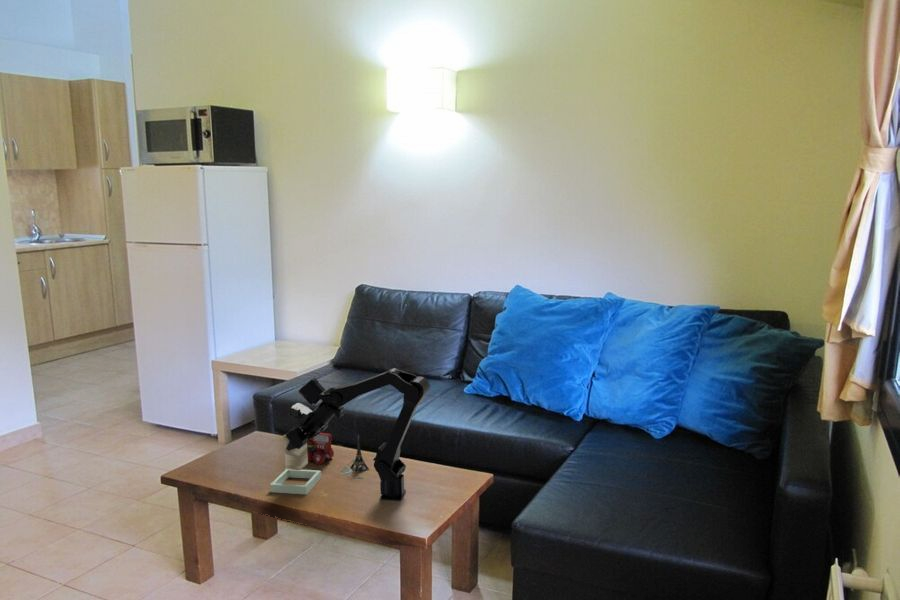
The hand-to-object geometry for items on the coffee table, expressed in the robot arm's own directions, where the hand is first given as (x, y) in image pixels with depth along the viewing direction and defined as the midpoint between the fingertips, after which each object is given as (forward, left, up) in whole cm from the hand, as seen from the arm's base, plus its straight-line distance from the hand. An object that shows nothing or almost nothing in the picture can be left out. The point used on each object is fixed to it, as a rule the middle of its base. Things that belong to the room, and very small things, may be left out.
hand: (291, 446), depth 213 cm
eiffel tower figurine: (-17, -16, -14) cm, 27 cm away
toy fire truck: (0, -21, -13) cm, 25 cm away
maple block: (-1, 0, -7) cm, 7 cm away
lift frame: (-1, 0, -13) cm, 13 cm away
